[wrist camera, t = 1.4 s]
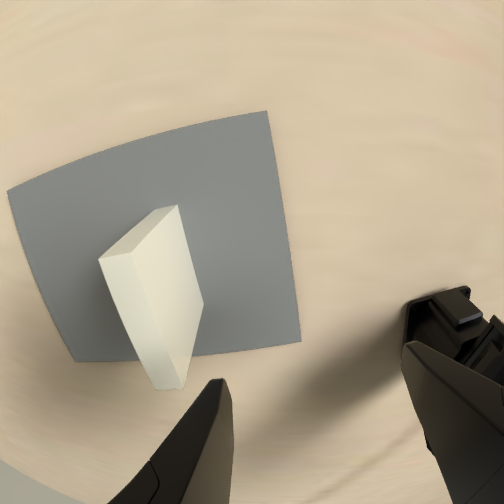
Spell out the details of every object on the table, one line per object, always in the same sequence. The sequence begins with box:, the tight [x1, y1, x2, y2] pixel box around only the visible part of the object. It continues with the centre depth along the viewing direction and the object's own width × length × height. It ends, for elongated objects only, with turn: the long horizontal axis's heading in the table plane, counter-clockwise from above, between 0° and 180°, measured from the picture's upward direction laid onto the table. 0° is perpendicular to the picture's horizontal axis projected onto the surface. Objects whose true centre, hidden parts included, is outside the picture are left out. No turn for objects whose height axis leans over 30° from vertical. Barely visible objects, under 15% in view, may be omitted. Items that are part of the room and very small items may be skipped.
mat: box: [7, 111, 301, 362], centre depth 20 cm, size 16×20×1 cm
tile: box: [98, 205, 204, 390], centre depth 16 cm, size 7×2×8 cm, turn 10°
